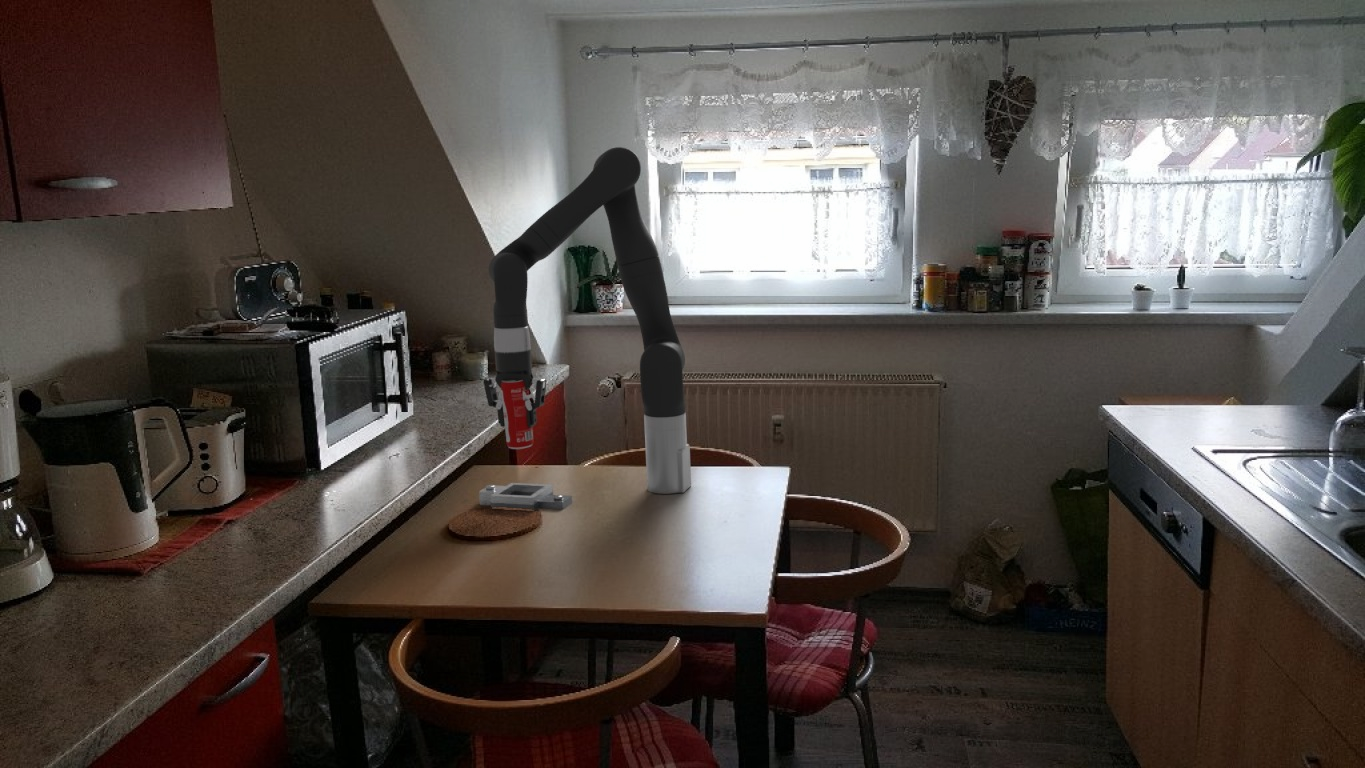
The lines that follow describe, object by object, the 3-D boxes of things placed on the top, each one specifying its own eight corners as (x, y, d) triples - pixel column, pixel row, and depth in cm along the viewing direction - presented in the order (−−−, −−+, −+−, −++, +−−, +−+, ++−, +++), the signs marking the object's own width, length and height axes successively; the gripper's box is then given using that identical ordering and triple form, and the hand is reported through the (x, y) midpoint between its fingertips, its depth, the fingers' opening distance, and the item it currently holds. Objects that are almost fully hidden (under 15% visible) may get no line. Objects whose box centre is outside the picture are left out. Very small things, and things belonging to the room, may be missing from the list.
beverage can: (536, 442, 212) (532, 374, 209) (529, 450, 206) (524, 380, 203) (510, 443, 213) (505, 375, 210) (501, 450, 206) (496, 380, 204)
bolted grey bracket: (576, 499, 213) (575, 483, 212) (558, 513, 204) (557, 496, 203) (495, 495, 219) (494, 479, 218) (474, 508, 209) (473, 492, 208)
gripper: (551, 346, 207) (555, 423, 210) (490, 345, 211) (495, 421, 214) (536, 351, 200) (541, 431, 203) (473, 350, 204) (479, 429, 207)
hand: (517, 426), depth 208 cm, fingers closed on beverage can, 5 cm apart
